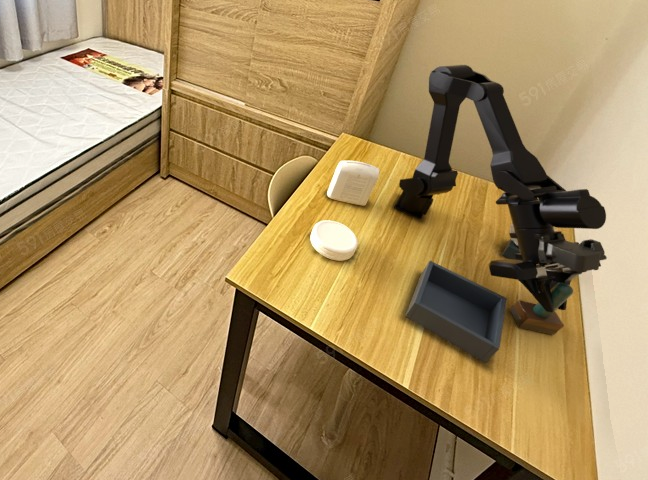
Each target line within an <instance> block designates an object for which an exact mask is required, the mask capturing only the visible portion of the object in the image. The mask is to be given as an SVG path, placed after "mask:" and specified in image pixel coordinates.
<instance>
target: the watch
mask: <svg viewBox="0 0 648 480" xmlns="http://www.w3.org/2000/svg"><path fill="white" fill-rule="evenodd" d="M554 231H556V230H555V229H554ZM512 232H515V231H514V227H513V223H512V222H511V224H510V228H509V233H512ZM517 253H520V250H519V246H518V242H517V238H510V239H509V240H508V241H507V243H506V245H505V247H504V250H503V251H502V253H501V256H503V257H504V258H505V259H514V260H520V259H516V257H515V254H517Z"/></svg>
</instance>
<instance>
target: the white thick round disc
mask: <svg viewBox="0 0 648 480" xmlns="http://www.w3.org/2000/svg"><path fill="white" fill-rule="evenodd" d="M309 238H310V244H311V245H312V247H313V249H314V250H315V251H316V252H317V253H318V254H320V255H321V256H323V257H324V258H327V259H329V260H332V261H338V262H340V261H341V262H343V261H348V260H349V259H351V258H352V257H354V254H355V252H356V250H357V248H358V242H359V241H358V238H357V236H356V234H355V233H354V231H353V230H352V229H350V228H349V227H348V226H347V225H345V224H343V223H341V222H338V221H335V220H328V219H325V220H320V221H318V222H316V224H314V225H313V228H312V230H311V233H310V237H309Z"/></svg>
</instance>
